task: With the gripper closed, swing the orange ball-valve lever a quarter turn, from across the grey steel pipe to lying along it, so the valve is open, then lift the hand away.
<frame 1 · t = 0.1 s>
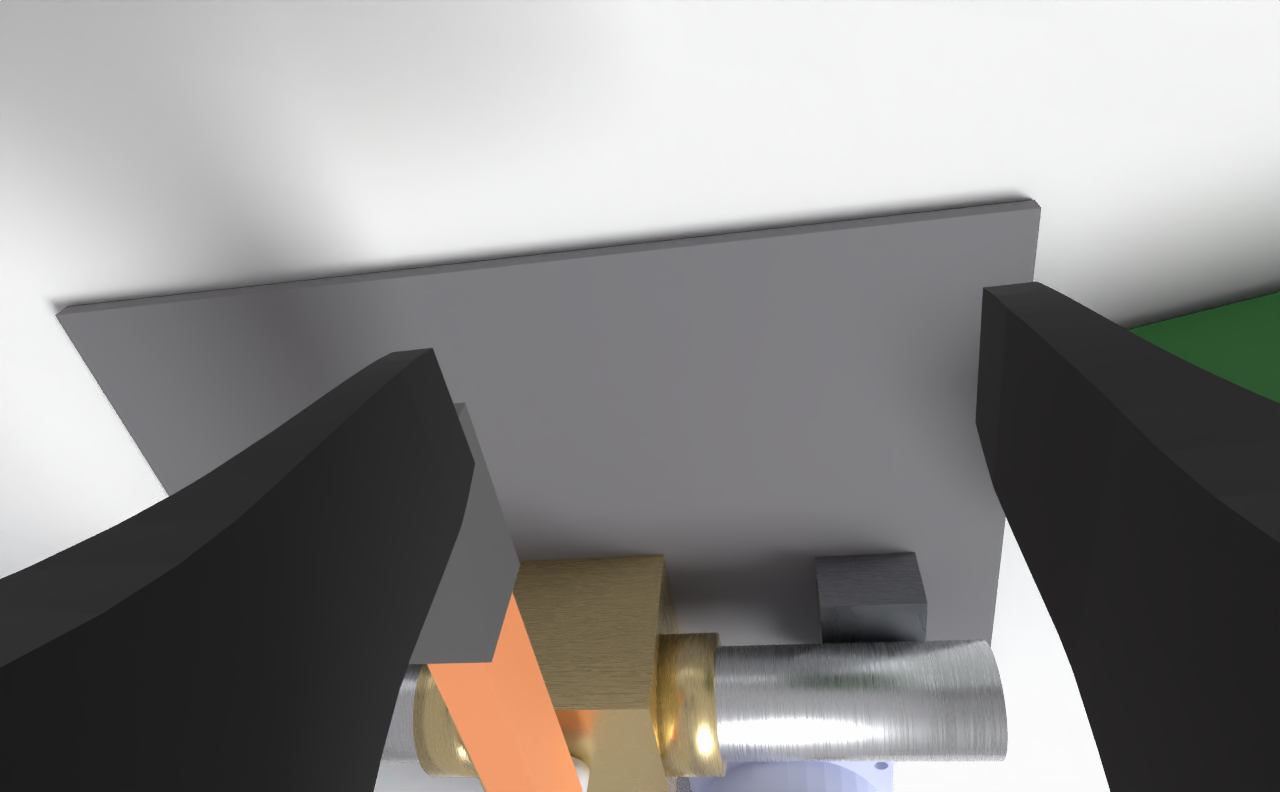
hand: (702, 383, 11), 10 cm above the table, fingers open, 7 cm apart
pipe mat: (572, 515, 26), on the table
valve lever: (498, 688, 19), point 8 cm above the table, hinge at 0.0°
pipe and valve: (595, 601, 29), resting on pipe mat
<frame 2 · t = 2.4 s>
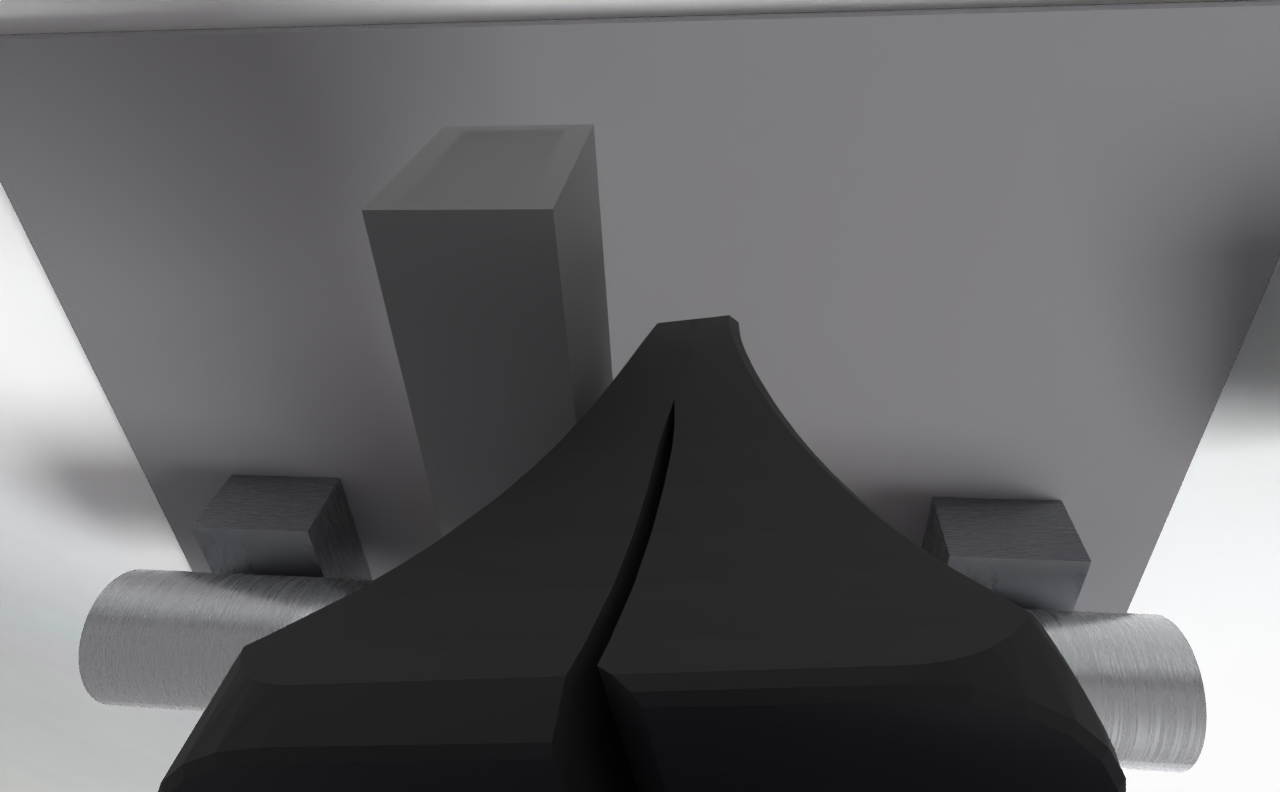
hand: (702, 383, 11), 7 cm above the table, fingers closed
pipe mat: (623, 417, 20), on the table
valve lever: (558, 614, 13), point 8 cm above the table, hinge at 0.1°, touching gripper
pipe and valve: (631, 536, 22), resting on pipe mat
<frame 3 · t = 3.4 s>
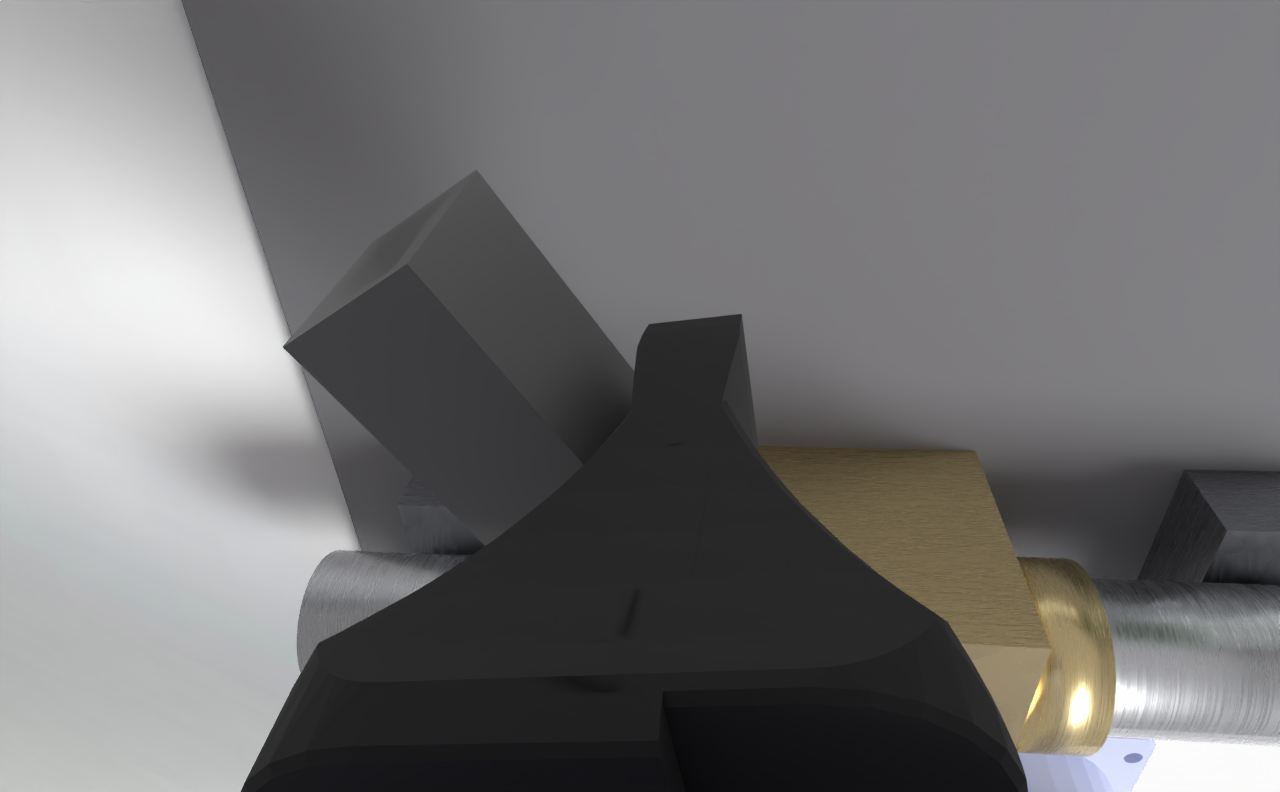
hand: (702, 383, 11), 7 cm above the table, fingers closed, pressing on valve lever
pipe mat: (856, 386, 19), on the table
valve lever: (714, 619, 12), point 8 cm above the table, hinge at 31.8°, touching gripper
pipe and valve: (839, 515, 21), resting on pipe mat
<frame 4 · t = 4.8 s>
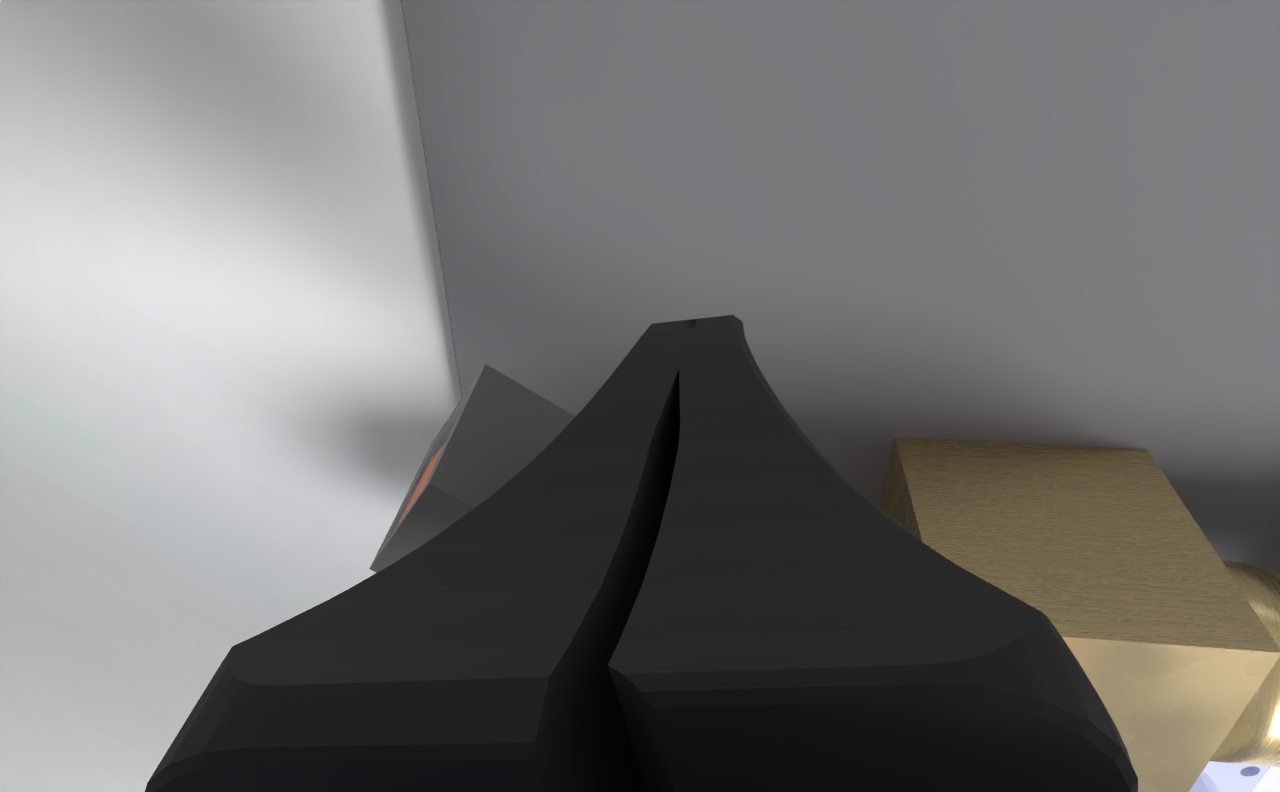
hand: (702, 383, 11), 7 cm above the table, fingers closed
pipe mat: (1029, 379, 18), on the table
valve lever: (835, 677, 13), point 8 cm above the table, hinge at 56.3°, touching gripper
pipe and valve: (987, 512, 21), resting on pipe mat
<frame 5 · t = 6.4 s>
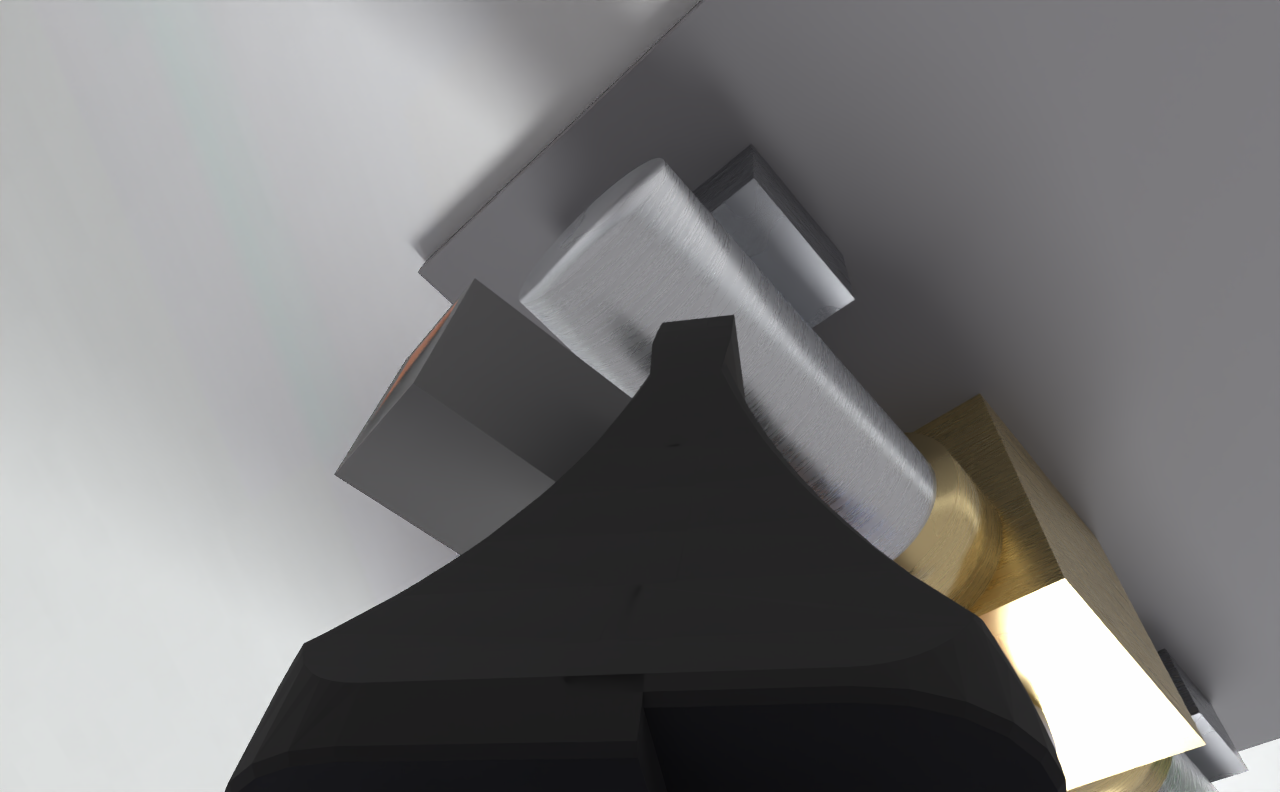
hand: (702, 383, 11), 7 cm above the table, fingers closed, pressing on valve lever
pipe mat: (1092, 428, 19), on the table
valve lever: (797, 640, 13), point 8 cm above the table, hinge at 97.0°, touching gripper
pipe and valve: (939, 507, 21), resting on pipe mat
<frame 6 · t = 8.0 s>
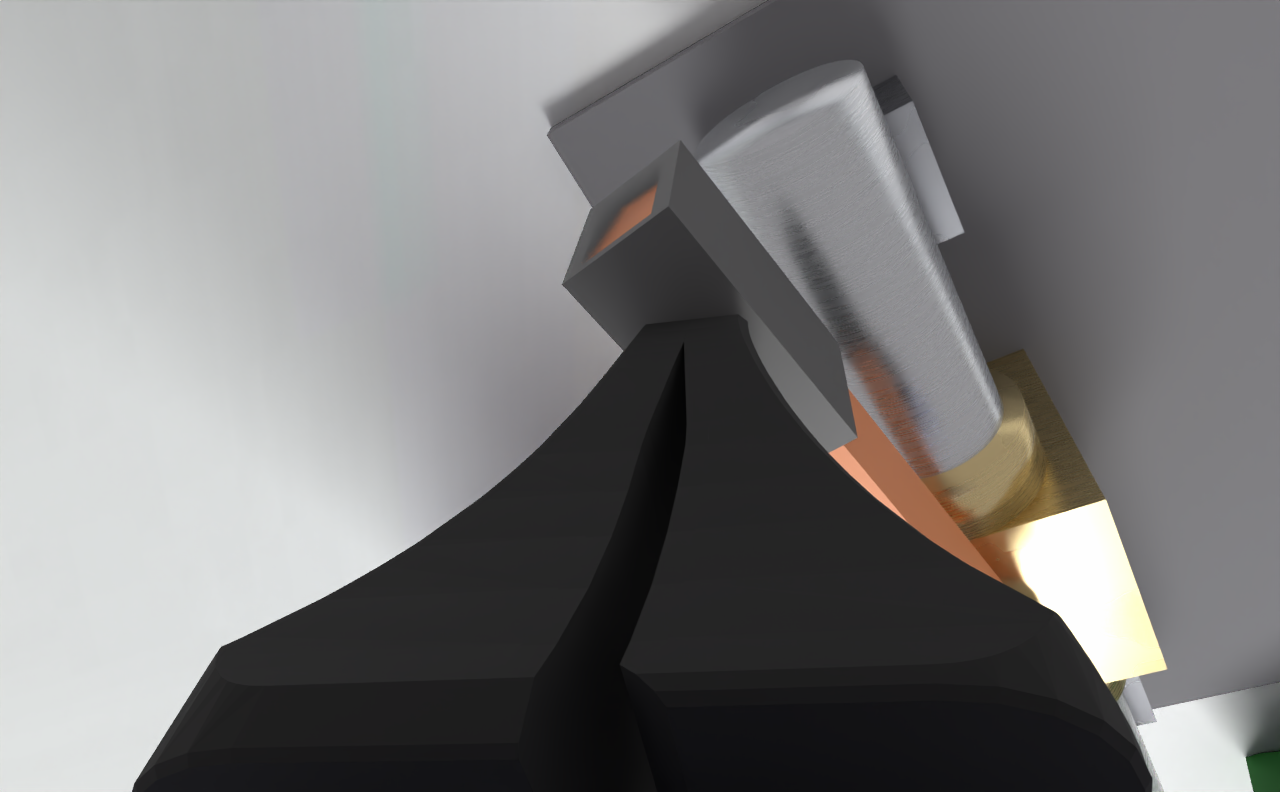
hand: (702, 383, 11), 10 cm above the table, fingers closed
pipe mat: (1103, 399, 22), on the table
valve lever: (883, 512, 14), point 8 cm above the table, hinge at 98.9°
pipe and valve: (952, 451, 23), resting on pipe mat
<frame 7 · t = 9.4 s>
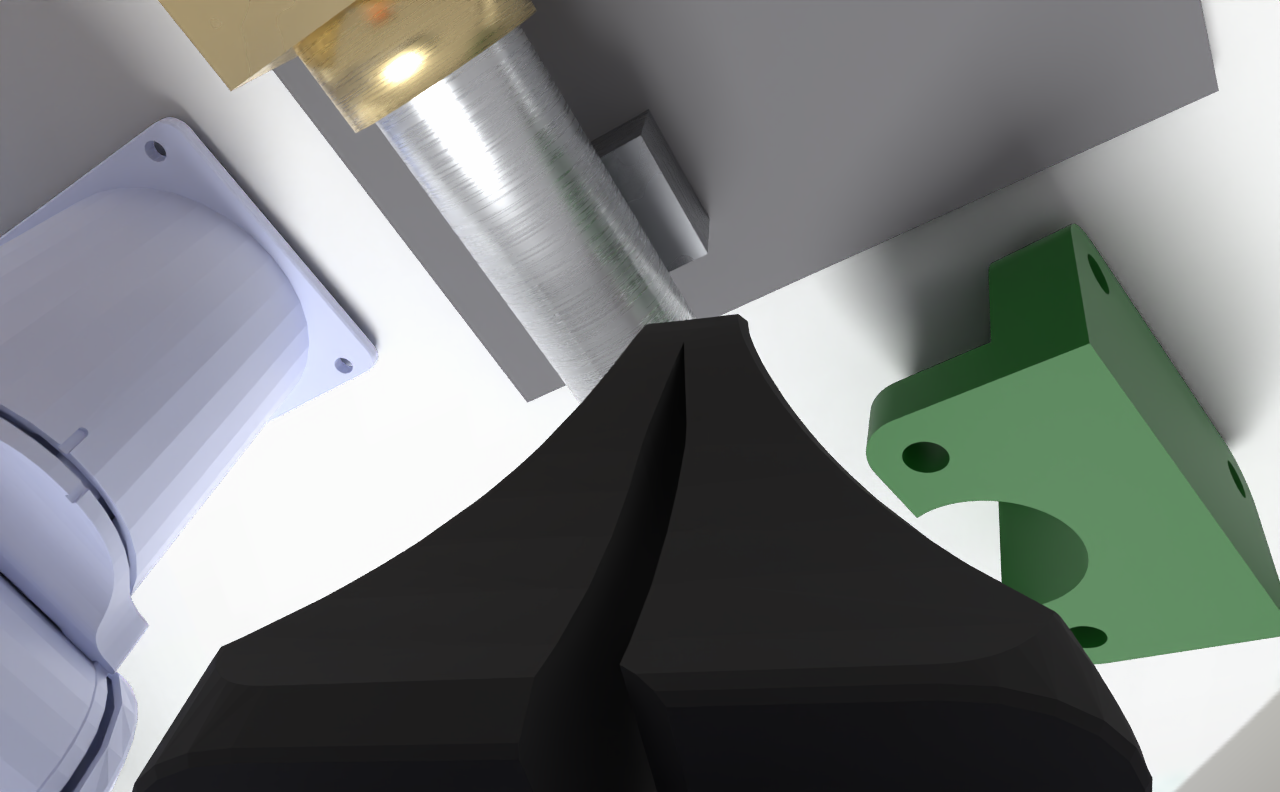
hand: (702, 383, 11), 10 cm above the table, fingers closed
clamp: (1033, 401, 23), on the table
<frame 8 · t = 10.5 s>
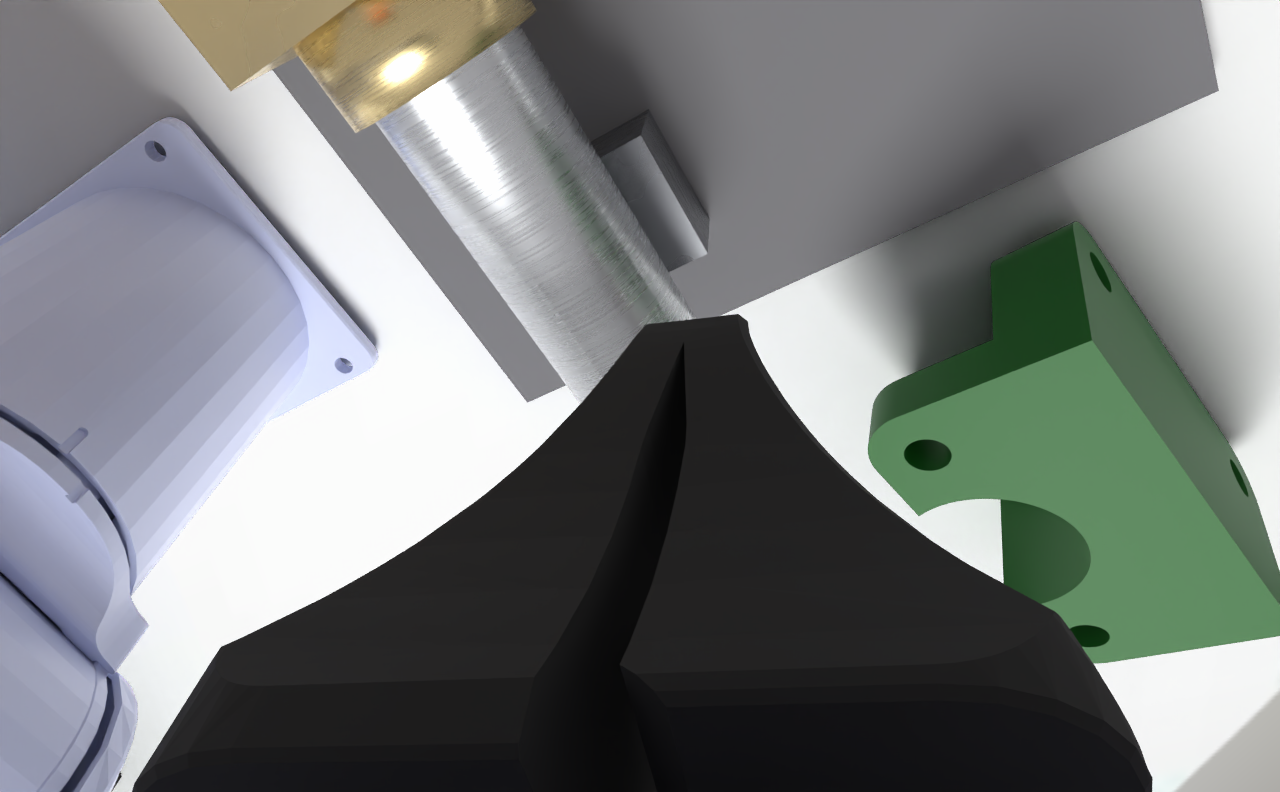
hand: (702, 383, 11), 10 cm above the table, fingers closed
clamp: (1035, 400, 23), on the table
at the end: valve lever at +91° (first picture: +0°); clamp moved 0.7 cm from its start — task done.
